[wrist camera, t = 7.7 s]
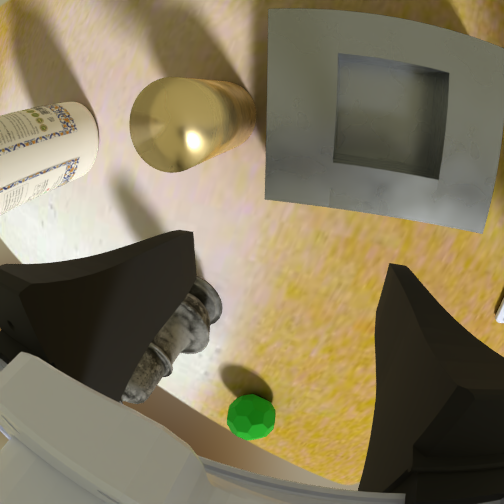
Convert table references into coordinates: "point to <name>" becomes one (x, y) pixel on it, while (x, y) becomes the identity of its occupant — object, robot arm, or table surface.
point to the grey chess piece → (175, 340)
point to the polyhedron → (251, 417)
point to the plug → (189, 121)
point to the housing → (382, 116)
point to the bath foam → (44, 150)
